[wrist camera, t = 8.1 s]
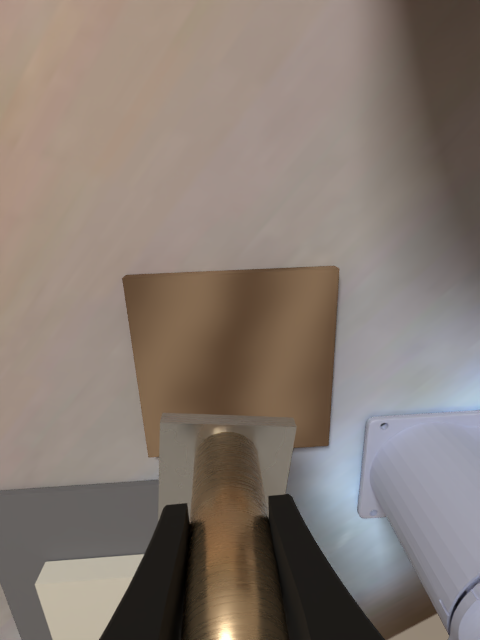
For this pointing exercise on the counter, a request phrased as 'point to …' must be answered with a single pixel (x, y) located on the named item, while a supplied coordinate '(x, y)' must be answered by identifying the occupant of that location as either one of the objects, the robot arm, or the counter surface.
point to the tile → (83, 594)
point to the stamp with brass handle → (227, 519)
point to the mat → (67, 536)
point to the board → (235, 345)
